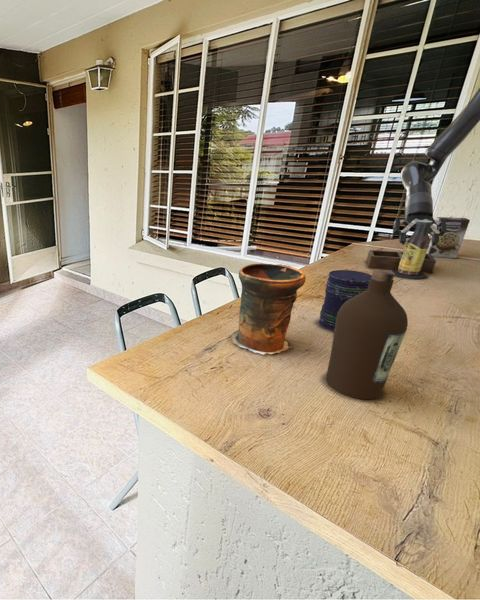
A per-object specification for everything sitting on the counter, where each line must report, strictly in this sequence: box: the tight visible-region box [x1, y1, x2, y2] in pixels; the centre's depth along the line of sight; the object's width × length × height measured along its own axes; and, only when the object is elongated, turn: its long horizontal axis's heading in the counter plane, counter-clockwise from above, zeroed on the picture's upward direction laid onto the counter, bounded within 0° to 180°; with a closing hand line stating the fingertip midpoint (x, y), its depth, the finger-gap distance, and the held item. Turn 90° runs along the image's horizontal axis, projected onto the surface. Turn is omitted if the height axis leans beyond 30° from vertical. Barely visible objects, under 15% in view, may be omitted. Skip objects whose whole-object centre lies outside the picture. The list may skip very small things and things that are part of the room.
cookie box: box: [426, 216, 471, 259], centre depth 148 cm, size 9×6×16 cm
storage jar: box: [318, 269, 372, 333], centre depth 95 cm, size 10×10×15 cm
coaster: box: [390, 270, 428, 280], centre depth 131 cm, size 10×10×1 cm
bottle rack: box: [366, 249, 437, 274], centre depth 140 cm, size 19×11×5 cm, turn 56°
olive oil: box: [325, 269, 409, 400], centre depth 68 cm, size 11×11×25 cm
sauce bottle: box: [398, 220, 433, 275], centre depth 128 cm, size 6×6×20 cm
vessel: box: [231, 262, 307, 356], centre depth 88 cm, size 14×14×20 cm
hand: (418, 244), depth 126 cm, fingers open, 8 cm apart
